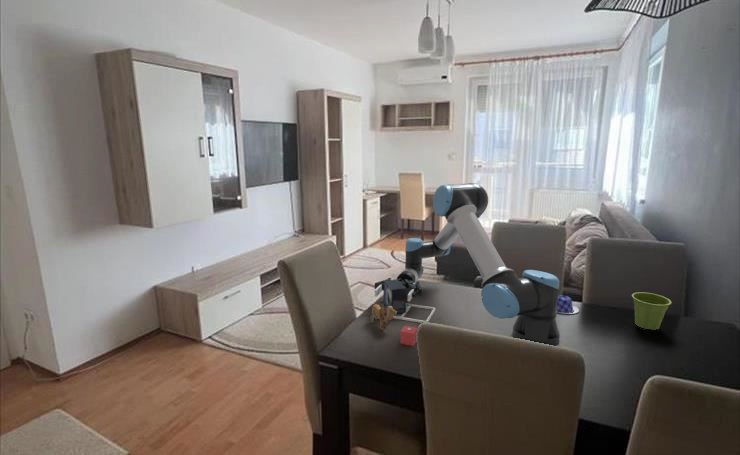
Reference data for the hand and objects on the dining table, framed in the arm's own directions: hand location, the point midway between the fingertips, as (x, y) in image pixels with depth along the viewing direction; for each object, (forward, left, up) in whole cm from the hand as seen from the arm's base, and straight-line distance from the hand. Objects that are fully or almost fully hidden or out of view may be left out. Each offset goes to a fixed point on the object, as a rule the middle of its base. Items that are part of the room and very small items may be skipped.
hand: (391, 295), depth 159 cm
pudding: (-63, -30, -8) cm, 70 cm away
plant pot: (-91, -23, -8) cm, 94 cm away
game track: (-5, -3, -7) cm, 10 cm away
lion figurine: (0, +10, -8) cm, 13 cm away
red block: (-13, +20, -7) cm, 25 cm away
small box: (0, -3, -7) cm, 8 cm away
